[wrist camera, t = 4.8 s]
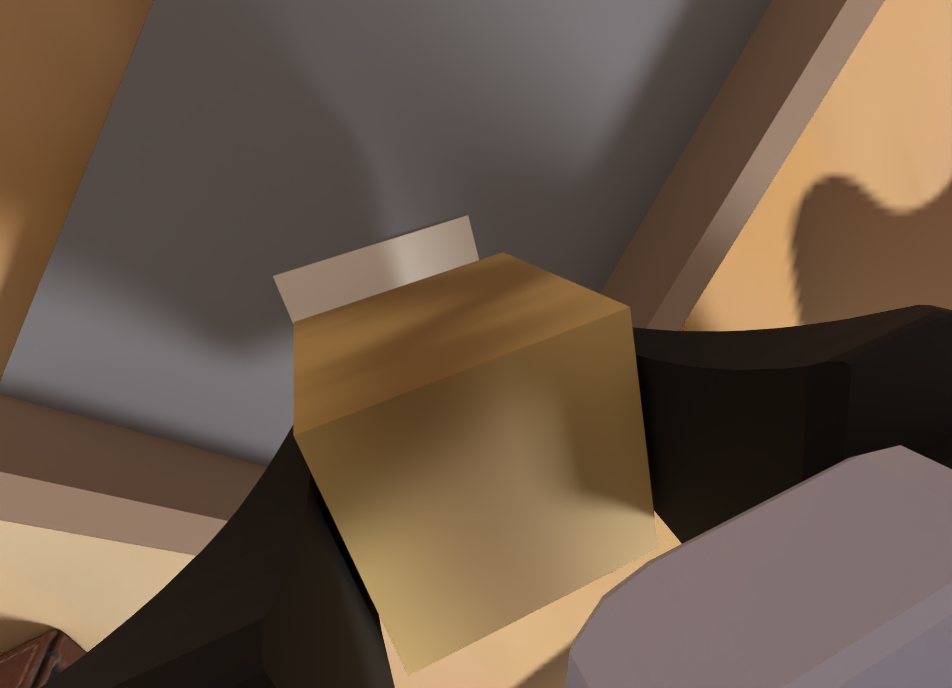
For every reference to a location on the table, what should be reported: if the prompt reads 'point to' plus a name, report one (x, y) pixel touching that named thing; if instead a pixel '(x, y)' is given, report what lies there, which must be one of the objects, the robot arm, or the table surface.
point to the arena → (372, 210)
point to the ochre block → (475, 446)
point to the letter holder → (38, 660)
